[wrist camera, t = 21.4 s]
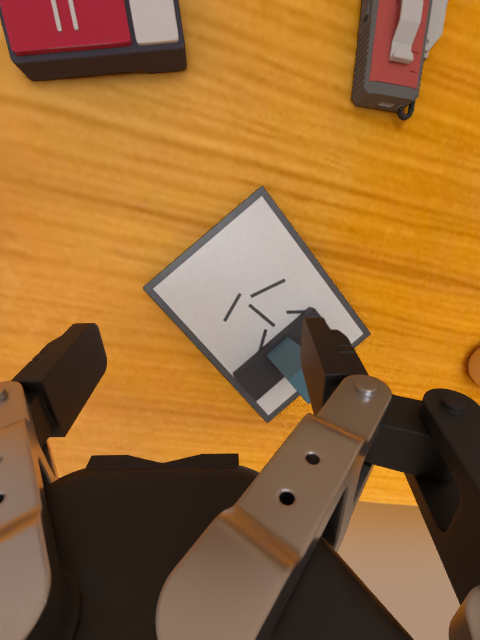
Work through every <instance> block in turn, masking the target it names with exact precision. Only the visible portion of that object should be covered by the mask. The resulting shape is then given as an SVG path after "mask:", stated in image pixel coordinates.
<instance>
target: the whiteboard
mask: <svg viewBox="0 0 480 640" xmlns="http://www.w3.org/2000/svg"><path fill="white" fill-rule="evenodd" d="M143 289H144V290H145V291H146V292H147V293H148V295H149V296H150V297H151V298H152V299H153V300H154V301H155V302H156V303H157V304H158V305H159V306H160V308H161V309H162V310H163V311H164V312H165V313H166V314H167V315H168V316H169V317H170V318H171V319H172V321H173V322H174V323H175V324H176V325H177V326H178V327H179V328H180V329H181V330H182V331H183V332H184V334H185V335H186V336H187V337H188V338H189V339H190V340H191V341H192V342H193V343H194V344H195V345H196V347H197V348H198V349H199V350H200V351H201V352H202V353H203V354H204V355H205V356H206V357H207V358H208V360H209V361H210V362H211V363H212V364H213V365H214V366H215V367H216V368H217V369H218V370H219V371H220V373H221V374H222V375H223V376H224V377H225V378H226V379H227V380H228V381H229V382H230V383H231V384H232V386H233V387H234V388H235V389H236V390H237V391H238V392H239V393H240V394H241V395H242V396H243V397H244V399H245V400H246V401H247V402H248V403H249V404H250V405H251V406H252V407H253V408H254V409H255V410H256V412H257V413H258V414H259V415H260V416H261V417H262V418H263V419H264V420H265V421H266V422H267V423H268V422H269V421H270V420H272V419H273V418H274V417H275V416H276V415H277V414H279V413H280V412H281V411H282V410H283V409H284V408H286V407H287V406H288V405H289V404H290V403H291V402H293V401H294V400H295V399H296V398H297V397H298V396H300V394H299V393H298V392H297V391H296V389H295V388H294V387H293V386H292V385H291V384H290V382H289V381H288V380H287V379H286V378H285V377H284V378H283V379H282V380H281V381H280V382H278V383H277V384H276V385H275V386H274V387H273V388H271V389H270V390H269V391H268V392H267V393H266V394H264V395H263V396H262V397H261V398H260V399H259V400H258V401H255V400H254V399H253V398H252V397H251V395H250V394H249V393H248V392H247V391H246V390H245V389H244V388H243V387H242V386H241V385H240V384H239V382H238V381H237V380H236V379H235V378H234V376H233V372H234V371H235V370H237V369H238V368H239V367H240V366H241V365H242V364H244V363H245V362H246V361H247V360H248V359H249V358H251V357H252V356H253V355H254V354H255V353H256V352H257V351H259V350H260V349H261V348H262V347H263V346H264V345H266V344H267V343H268V342H269V341H270V340H271V339H273V338H274V337H275V336H276V335H277V334H278V333H280V332H281V331H282V330H283V329H284V328H285V327H287V326H288V325H289V324H290V323H291V322H292V321H294V320H295V319H296V318H297V317H298V316H299V315H300V314H302V313H303V312H304V311H305V310H306V309H307V308H309V307H312V308H315V309H316V310H317V312H318V313H319V314H320V316H321V317H323V318H324V319H325V321H326V323H327V325H328V326H329V327H330V329H331V330H335V329H338V330H339V331H341V332H342V333H343V334H345V335H346V336H347V337H348V339H349V341H350V342H351V344H352V346H353V348H355V347H356V346H358V345H359V344H360V343H361V342H362V341H363V340H365V339H366V338H367V337H368V336H369V335H370V334H371V333H370V332H369V330H368V329H367V328H366V326H365V325H364V324H363V322H362V321H361V319H360V318H359V317H358V315H357V314H356V313H355V311H354V310H353V309H352V307H351V306H350V304H349V303H348V302H347V300H346V299H345V298H344V296H343V295H342V294H341V292H340V291H339V289H338V288H337V287H336V285H335V284H334V283H333V281H332V280H331V278H330V277H329V276H328V274H327V273H326V272H325V270H324V269H323V268H322V266H321V265H320V263H319V262H318V261H317V259H316V258H315V257H314V255H313V254H312V252H311V251H310V250H309V248H308V247H307V246H306V244H305V243H304V242H303V240H302V239H301V237H300V236H299V235H298V233H297V232H296V231H295V229H294V228H293V227H292V225H291V224H290V222H289V221H288V220H287V218H286V217H285V216H284V214H283V213H282V211H281V210H280V209H279V207H278V206H277V205H276V203H275V202H274V201H273V199H272V198H271V196H270V195H269V194H268V192H267V191H266V190H265V188H264V187H263V186H261V187H260V188H259V189H257V190H256V191H255V192H254V193H253V194H252V195H250V196H249V197H248V198H247V199H246V200H245V201H243V202H242V203H241V204H240V205H239V206H238V207H236V208H235V209H234V210H233V211H232V212H231V213H229V214H228V215H227V216H226V217H225V218H223V219H222V220H221V221H220V222H219V223H218V224H216V225H215V226H214V227H213V228H212V229H211V230H209V231H208V232H207V233H206V234H205V235H204V236H202V237H201V238H200V239H199V240H198V241H197V242H195V243H194V244H193V245H192V246H191V247H190V248H188V249H187V250H186V251H185V252H184V253H183V254H181V255H180V256H179V257H178V258H177V259H175V260H174V261H173V262H172V263H171V264H170V265H168V266H167V267H166V268H165V269H164V270H163V271H161V272H160V273H159V274H158V275H157V276H156V277H154V278H153V279H152V280H151V281H150V282H149V283H147V284H146V285H145V286H144V287H143Z"/></svg>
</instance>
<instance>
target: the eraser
mask: <svg viewBox="0 0 480 640" xmlns="http://www.w3.org/2000/svg"><path fill="white" fill-rule="evenodd" d="M309 317H321V316H320V314H319V313H318V312H317V310H316V309H315V308H312V307H309V308H307V309H306V310H305V311H304V312H303V313H302V314H300V315H299V316H298V317H297V318H296V319H295V320H294V321H292V322H291V323H290V324H289V325H288V326H287V327H285V328H284V329H283V330H282V331H281V332H280V333H278V334H277V335H276V336H275V337H274V338H273V339H271V340H270V341H269V342H268V343H267V344H266V345H264V346H263V347H262V348H261V349H260V350H259V351H257V352H256V353H255V354H254V355H253V356H252V357H251V358H249V359H248V360H247V361H246V362H245V363H244V364H242V365H241V366H240V367H239V368H238V369H237V370H235V371H234V372H233V376H234V378H235V379H236V380H237V381H238V382H239V384H240V385H241V386H242V387H243V388H244V389H245V390H246V391H247V392H248V393H249V394H250V395H251V397H252V398H253V399H254V400H255V401H258V400H259V399H260V398H261V397H262V396H263V395H264V394H266V393H267V392H268V391H269V390H270V389H271V388H273V387H274V386H275V385H276V384H277V383H278V382H280V381H281V380H282V379H283V378H284V377H285V378H286V379H287V380H288V381H289V382H290V384H291V385H292V386H293V387H294V388H295V389H296V391H297V392H298V393H299V394H300V395H301V396H302V398H303V399H304V400H305V401H306V402H307V403H308V404H309V403H310V402H311V401H310V398H309V394H308V390H307V386H306V382H305V379H304V375H303V371H302V367H301V358H300V351H301V337H302V323H303V318H309ZM328 328H329V330H331V329H330V327H329V326H328Z"/></svg>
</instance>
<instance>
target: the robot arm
mask: <svg viewBox="0 0 480 640" xmlns="http://www.w3.org/2000/svg"><path fill="white" fill-rule="evenodd" d="M300 358H301V367H302V371H303V375H304V379H305V382H306V386H307V390H308V394H309V398H310V401H311V405H312V409H313V413H314V415H313V414H311V413H308V414H306V415H305V416H304V417H303V419H302V420H301V421H300V422H299V424H298V425H297V426H296V428H295V429H294V430H293V431H292V433H291V434H290V435H289V436H288V438H287V439H286V440H285V441H284V443H283V444H282V445H281V447H280V448H279V449H278V450H277V452H276V453H275V454H274V455H273V457H272V458H271V459H270V460H269V462H268V463H267V464H266V466H265V467H264V468H263V469H262V471H261V472H260V473H259V472H257V471H255V470H252V469H250V468H247V467H243V466H239V457H238V454H200V455H196V456H192V457H187V458H183V459H179V460H175V461H170V462H166V463H159V462H155V461H150V460H146V459H142V458H138V457H133V456H129V455H99V456H91V458H90V460H89V462H88V465H87V467H86V468H85V469H81V470H78V471H75V472H72V473H70V474H68V475H65V476H63V477H61V478H59V479H58V475H57V471H56V467H55V463H54V460H53V456H52V452H51V448H50V446H49V444H48V442H47V439H48V438H49V437H65V436H66V434H67V433H68V431H69V429H70V428H71V426H72V425H73V423H74V421H75V420H76V418H77V416H78V415H79V413H80V412H81V410H82V408H83V407H84V405H85V403H86V402H87V400H88V399H89V397H90V395H91V394H92V392H93V391H94V389H95V387H96V386H97V384H98V382H99V381H100V379H101V378H102V376H103V374H104V373H105V370H106V367H107V357H106V353H105V349H104V346H103V342H102V339H101V335H100V332H99V328H98V326H97V325H96V324H95V323H77V324H73V325H72V326H71V327H70V328H69V329H68V330H67V331H66V332H65V333H64V334H63V335H62V336H60V337H58V338H57V339H55V340H53V341H52V342H50V343H48V344H47V345H46V346H45V347H44V348H43V349H42V350H41V351H40V352H39V354H37V355H36V356H35V357H34V358H33V360H32V361H30V362H29V363H28V364H27V365H26V366H25V367H24V368H23V369H22V370H21V371H20V372H19V373H18V374H17V375H16V376H15V377H14V378H13V379H12V380H11V381H7V382H1V383H0V640H414V639H413V638H412V637H411V636H410V635H409V634H408V632H407V631H406V630H405V629H404V628H403V627H402V626H401V625H400V623H399V622H398V621H397V620H396V619H395V618H394V617H393V616H392V614H391V613H390V612H389V611H388V610H387V609H386V608H385V606H384V605H383V604H382V603H381V602H380V601H379V600H378V599H377V597H376V596H375V595H374V594H373V593H372V592H371V591H370V590H369V588H367V586H366V585H365V584H364V583H363V582H362V580H360V578H359V577H358V576H357V575H356V574H355V573H354V572H353V570H352V569H351V568H350V567H349V566H348V565H347V564H346V562H345V561H344V560H343V559H342V558H341V557H340V556H339V554H338V553H337V551H338V549H339V547H340V545H341V542H342V540H343V538H344V535H345V532H346V530H347V527H348V524H349V521H350V518H351V515H352V513H353V510H354V508H355V506H356V503H357V502H358V499H359V497H360V495H361V493H362V491H363V488H364V486H365V484H366V482H367V480H368V478H369V475H370V473H371V471H372V469H373V467H374V465H378V466H381V467H385V468H389V469H393V470H396V471H400V472H404V474H405V476H406V478H407V481H408V483H409V485H410V488H411V490H412V492H413V495H414V497H415V499H416V502H417V504H418V506H419V509H420V511H421V514H422V516H423V518H424V521H425V523H426V525H427V528H428V530H429V532H430V534H431V537H432V539H433V542H434V544H435V546H436V549H437V551H438V554H439V556H440V558H441V561H442V563H443V565H444V567H445V570H446V572H447V575H448V577H449V579H450V581H451V584H452V586H453V589H454V591H455V593H456V596H457V598H458V601H459V603H460V605H461V606H460V607H459V609H458V610H457V612H456V613H455V615H454V616H453V618H452V620H451V622H450V626H449V640H480V406H479V405H478V404H477V403H476V402H475V401H474V400H472V399H471V398H469V397H467V396H466V395H464V394H461V393H459V392H456V391H453V390H449V389H432V390H429V391H427V392H426V393H425V394H424V397H423V400H422V401H420V400H415V399H410V398H405V397H400V396H396V395H393V394H392V393H391V390H390V388H389V387H388V386H387V385H386V384H385V383H384V382H382V381H381V380H379V379H377V378H375V377H372V376H369V375H368V373H367V371H366V370H365V368H364V366H363V364H362V362H361V361H360V359H359V357H358V355H357V353H356V351H355V350H354V348H353V346H352V344H351V342H350V341H349V339H348V337H347V336H346V335H345V334H343V333H342V332H341V331H339V330H338V329H335V330H329V328H328V325H327V323H326V321H325V319H324V318H323V317H309V318H303V323H302V337H301V351H300Z"/></svg>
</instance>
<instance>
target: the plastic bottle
mask: <svg viewBox="0 0 480 640" xmlns="http://www.w3.org/2000/svg"><path fill="white" fill-rule="evenodd" d="M468 372H469V374H470V376H471V378H472V380H473V381H474V382H475V383H476V384H478V385H480V348H478V349H477V350H475V352H474V353H473V354H472V355H471V357H470V359H469V362H468Z"/></svg>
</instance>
